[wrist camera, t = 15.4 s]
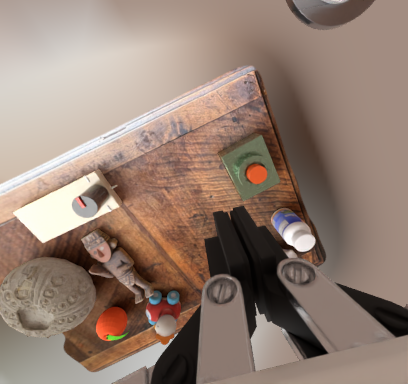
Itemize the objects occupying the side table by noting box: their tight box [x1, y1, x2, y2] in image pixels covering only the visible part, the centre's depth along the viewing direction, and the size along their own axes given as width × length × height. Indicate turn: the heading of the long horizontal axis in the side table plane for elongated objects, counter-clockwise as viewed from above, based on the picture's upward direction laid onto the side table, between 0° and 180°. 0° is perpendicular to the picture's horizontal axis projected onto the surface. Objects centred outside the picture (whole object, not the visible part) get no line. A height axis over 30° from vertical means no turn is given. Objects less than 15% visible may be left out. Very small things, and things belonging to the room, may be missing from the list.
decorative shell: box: [0, 257, 96, 338], centre depth 41 cm, size 18×18×10 cm
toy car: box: [146, 291, 181, 345], centre depth 47 cm, size 9×9×10 cm
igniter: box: [218, 133, 280, 201], centre depth 37 cm, size 10×8×6 cm
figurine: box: [81, 228, 154, 304], centre depth 43 cm, size 7×5×20 cm
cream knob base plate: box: [12, 169, 123, 243], centre depth 38 cm, size 20×8×2 cm, turn 115°
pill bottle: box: [271, 208, 315, 252], centre depth 41 cm, size 5×5×10 cm
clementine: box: [96, 307, 129, 341], centre depth 48 cm, size 8×7×7 cm
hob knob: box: [72, 185, 109, 218], centre depth 34 cm, size 4×4×6 cm
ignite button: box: [246, 164, 267, 184], centre depth 34 cm, size 3×3×2 cm
